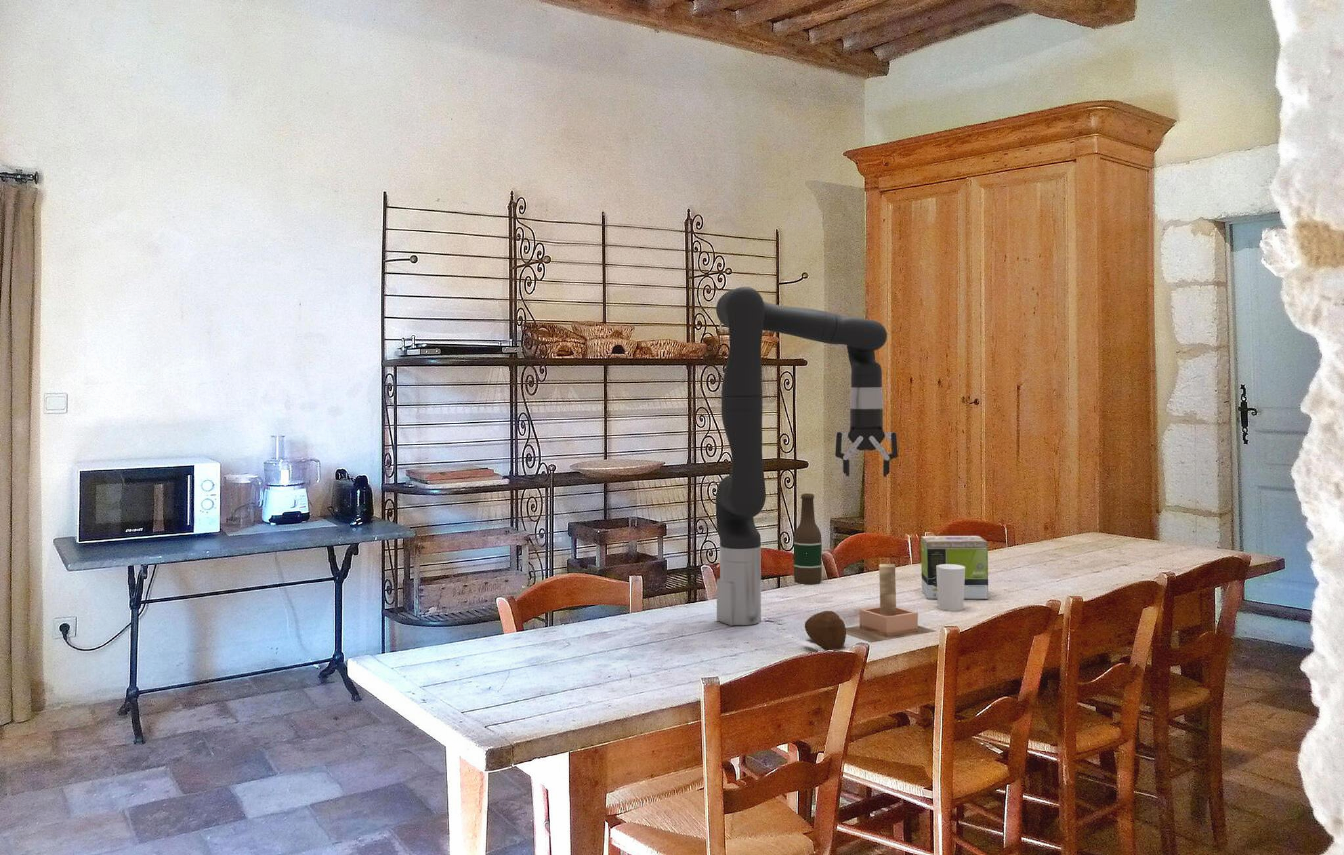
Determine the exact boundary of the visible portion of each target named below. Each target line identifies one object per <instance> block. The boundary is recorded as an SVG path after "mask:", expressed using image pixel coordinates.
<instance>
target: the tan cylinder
mask: <svg viewBox="0 0 1344 855" xmlns="http://www.w3.org/2000/svg"><path fill="white" fill-rule="evenodd" d="M878 566H879V567H878V568H879V571H878V572H879V607H880V615H884V616H894V615H896V607H897V591H896V589H897V588H896V586H897V585H896V565H895V563H879V565H878Z"/></svg>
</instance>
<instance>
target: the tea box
mask: <svg viewBox="0 0 1344 855" xmlns="http://www.w3.org/2000/svg"><path fill="white" fill-rule="evenodd" d="M920 547H921V548H920V549H921V550H920V554H921V558H920V561H921V570H920V571H921V575H920V576H921V591H922V592H923V594H924V595H925V597H926V598H927V599H928V600H929V599H930V600H932V599H933V600H934V599H935V600H936V599H937V600H938V594H937V571H936V566H937V565H941V564H955V565H961V566H964V567H965V582H964V600H965V599H966V600H968V599H969V600H971V599H972V600H976V599H977V600H978V599H979V600H988V599H989V554H988V553H989V547H988V541H987V540H985V539H984V538H982V537H981V536H980V535H922V536H920Z"/></svg>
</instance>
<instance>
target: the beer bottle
mask: <svg viewBox="0 0 1344 855" xmlns="http://www.w3.org/2000/svg"><path fill="white" fill-rule="evenodd" d="M800 496H801V497H800V499H801V507H800V508H801V510H800V520H799V525H797V527H796V529H795V531H794V532H795V533H794V536H793V580H794V581H793V582H794V583H795V584H799V585H817V584H818V585H819V584H821V582H822V573H823V572H822V570H823V568H822V566H823V565H822V564H823V563H822V562H823V561H822V560H823V559H822V557H823V555H822V554H823V553H822V552H823V549H822V545H823V543H822V542H823V541H822V533H821V530H820V528H819V527H818V525H817V523H816V519H815V518H816V517H815V507H814V506H815V503H814V499H815V495H814V494H813V493H802V494H801V495H800ZM806 553H807V554H806Z"/></svg>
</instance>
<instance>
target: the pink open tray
mask: <svg viewBox="0 0 1344 855" xmlns="http://www.w3.org/2000/svg"><path fill="white" fill-rule="evenodd" d="M918 619H919V612H916V611H913V610H909V609H905V608H903V607H898V606H896V615H894V616H884V615H880V606H875V607H869V608H863V609H859V626H860V628H861V629H864V630H867V631H870V632H873V633H876V634H879V635H883V636H886V637H889V636H894V635H900V634H906V633H912V632H918V626H919V621H918Z"/></svg>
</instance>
